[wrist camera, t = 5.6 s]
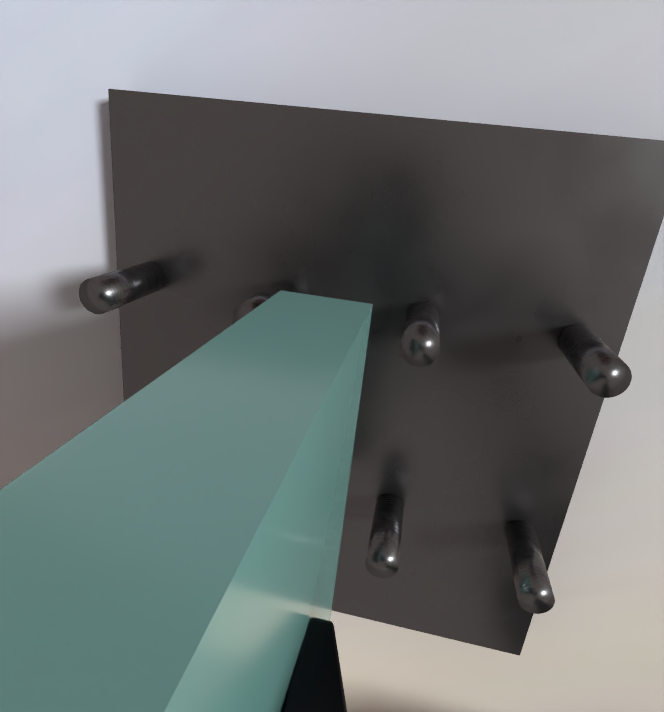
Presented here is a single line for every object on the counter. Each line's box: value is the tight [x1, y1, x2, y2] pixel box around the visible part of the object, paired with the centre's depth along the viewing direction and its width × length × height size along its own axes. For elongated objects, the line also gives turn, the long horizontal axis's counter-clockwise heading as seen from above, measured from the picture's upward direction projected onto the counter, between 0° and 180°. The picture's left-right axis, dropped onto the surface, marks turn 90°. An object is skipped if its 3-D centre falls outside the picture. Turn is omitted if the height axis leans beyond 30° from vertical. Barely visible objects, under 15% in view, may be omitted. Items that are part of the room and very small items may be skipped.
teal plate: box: [0, 290, 373, 712], centre depth 8 cm, size 10×2×10 cm, turn 174°
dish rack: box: [79, 89, 664, 655], centre depth 16 cm, size 18×16×4 cm
